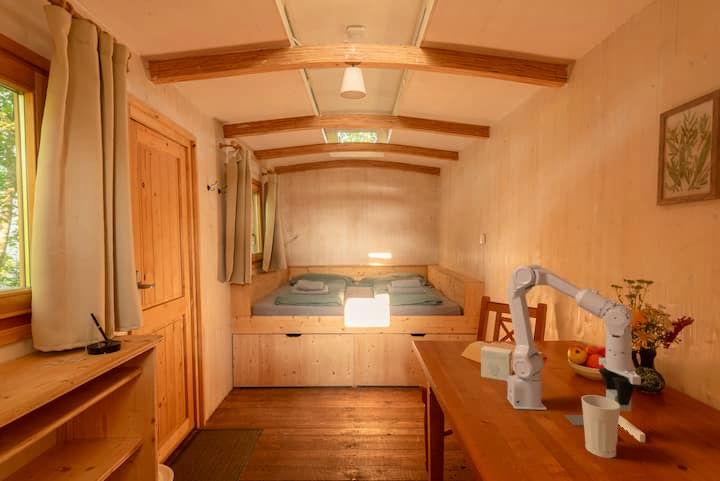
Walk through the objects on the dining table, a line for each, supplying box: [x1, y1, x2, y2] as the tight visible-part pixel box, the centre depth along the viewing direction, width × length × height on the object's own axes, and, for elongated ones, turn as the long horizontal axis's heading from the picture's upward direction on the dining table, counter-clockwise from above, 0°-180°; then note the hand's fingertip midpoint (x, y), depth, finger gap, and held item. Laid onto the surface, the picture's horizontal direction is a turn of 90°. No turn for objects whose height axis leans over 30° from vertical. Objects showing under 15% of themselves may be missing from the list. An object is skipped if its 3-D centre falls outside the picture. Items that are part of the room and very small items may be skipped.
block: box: [605, 389, 632, 412], centre depth 97 cm, size 4×4×4 cm
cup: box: [580, 394, 621, 459], centre depth 89 cm, size 8×8×12 cm
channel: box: [618, 414, 646, 443], centre depth 100 cm, size 8×14×2 cm, turn 176°
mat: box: [564, 414, 584, 427], centre depth 104 cm, size 6×6×1 cm
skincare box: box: [480, 345, 513, 383], centre depth 137 cm, size 10×6×10 cm, turn 58°
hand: (618, 400), depth 97 cm, fingers closed on block, 4 cm apart
